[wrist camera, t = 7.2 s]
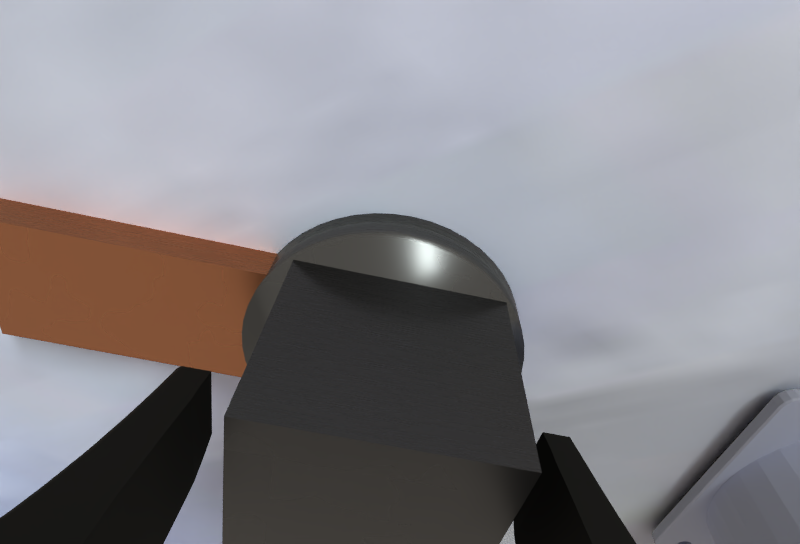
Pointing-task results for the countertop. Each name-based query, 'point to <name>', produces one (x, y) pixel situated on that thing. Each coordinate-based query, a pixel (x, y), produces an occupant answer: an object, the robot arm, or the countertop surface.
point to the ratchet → (203, 281)
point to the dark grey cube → (377, 418)
